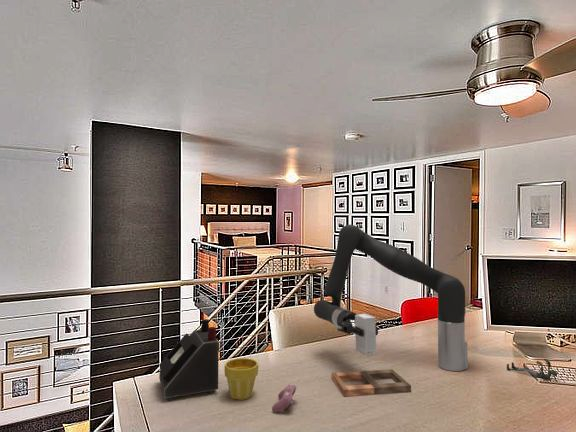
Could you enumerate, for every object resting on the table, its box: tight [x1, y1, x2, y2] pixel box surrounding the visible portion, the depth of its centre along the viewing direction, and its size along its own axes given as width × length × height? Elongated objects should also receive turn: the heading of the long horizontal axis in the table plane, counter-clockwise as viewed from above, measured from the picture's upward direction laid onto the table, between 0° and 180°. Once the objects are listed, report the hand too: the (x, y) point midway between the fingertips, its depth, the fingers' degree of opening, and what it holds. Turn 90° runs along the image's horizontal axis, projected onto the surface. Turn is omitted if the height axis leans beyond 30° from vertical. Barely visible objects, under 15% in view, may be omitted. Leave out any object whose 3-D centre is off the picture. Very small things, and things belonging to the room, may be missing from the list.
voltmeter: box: [158, 319, 220, 401], centre depth 126 cm, size 16×16×20 cm
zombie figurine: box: [506, 358, 558, 380], centre depth 137 cm, size 5×7×15 cm
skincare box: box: [355, 313, 377, 357], centre depth 129 cm, size 6×4×12 cm
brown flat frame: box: [331, 369, 412, 397], centre depth 129 cm, size 22×14×2 cm, turn 99°
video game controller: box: [271, 383, 298, 414], centre depth 114 cm, size 10×5×7 cm, turn 169°
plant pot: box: [224, 357, 259, 401], centre depth 121 cm, size 10×10×10 cm
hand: (369, 332), depth 127 cm, fingers closed on skincare box, 4 cm apart
